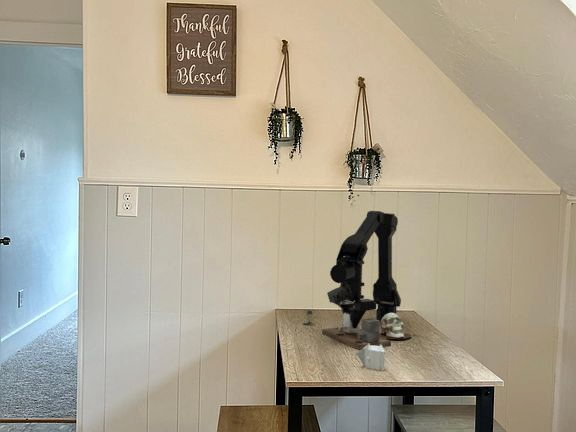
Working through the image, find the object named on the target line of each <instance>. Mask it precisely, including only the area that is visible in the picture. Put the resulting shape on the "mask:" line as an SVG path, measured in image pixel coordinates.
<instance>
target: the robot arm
mask: <svg viewBox="0 0 576 432" xmlns="http://www.w3.org/2000/svg"><path fill="white" fill-rule="evenodd" d="M398 220H399V219H398V217H397V216H396V214H395V213H387V212H386V213H385V212H384V211H381V210H370V211H367V213H366V216H365V218H364V220H363V221H362V222H361V224H360V226H359V227H358V229H357V230H356V231H355V233H353V234H352V235H349V236H348V237H346V239H344V241H343V242H342V243H341V246H340V248H339V250H338V253H337V257H336V260H335V263H336V264H335V265H333V266H332V267H331V269H330V272H329V274H330V275H329V276H330V278H331V280H332V281H333V282H335V283H337V284H340V285H339V287H336V288H334V289H331V290H329V291H328V292H327V298H328V300H329V303H332V304H334V305H336V306H338V307H339V308H340V309H341V312H342V316H343V315H344V313H345V312H352V321H353V328H357V326H358V324H359V322H360V323H361V321H362V320H363V317H364V316H365V314H366V312H367V311H375V310H376V318H375V319H376V320H379V321H380V322H381V320H382V318H383V317H384V316H385V315H386V314H388V313H395V314H397V308H398V307H401V303H402V299H401V296H400V293H399V291H398V289H397V286H398V285H397V283H396V281H395V280H394V278H393V236H394V235H395V233H396V232H397V227H398V225H399V224H398V223H399V221H398ZM373 234H375V235H376V238H377V240H378V241H377V244H378V245H377V253H378V256H377V260H378V261H377V262H378V263H377V264H378V268H377V269H378V270H377V272H378V273H377V275H378V277H377V280H376V281H375V282H374V283H373V286H372V287H373V289H372V298H373V299H370V298H365V296H364V294H362V287H365V282H363V280H362V279H363V265H364V264H365V260H364V258H365V256H366V255H367V253H368V249H369V248H368V243H369V241H370V239H371V238H372V236H373Z"/></svg>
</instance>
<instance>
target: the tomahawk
mask: <svg viewBox="0 0 576 432" xmlns="http://www.w3.org/2000/svg"><path fill="white" fill-rule="evenodd" d="M312 313H313V311H312V310H309V309H308V310H307V311H306V315H307V323H306V322H303V325H304V326H316V324H313V322H312Z"/></svg>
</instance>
